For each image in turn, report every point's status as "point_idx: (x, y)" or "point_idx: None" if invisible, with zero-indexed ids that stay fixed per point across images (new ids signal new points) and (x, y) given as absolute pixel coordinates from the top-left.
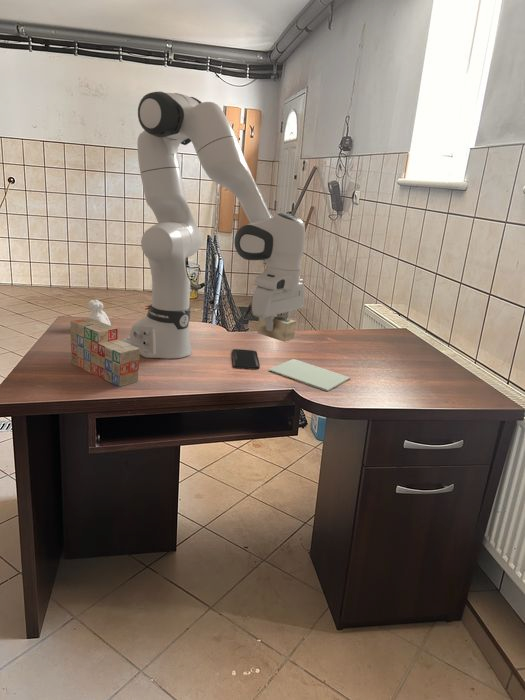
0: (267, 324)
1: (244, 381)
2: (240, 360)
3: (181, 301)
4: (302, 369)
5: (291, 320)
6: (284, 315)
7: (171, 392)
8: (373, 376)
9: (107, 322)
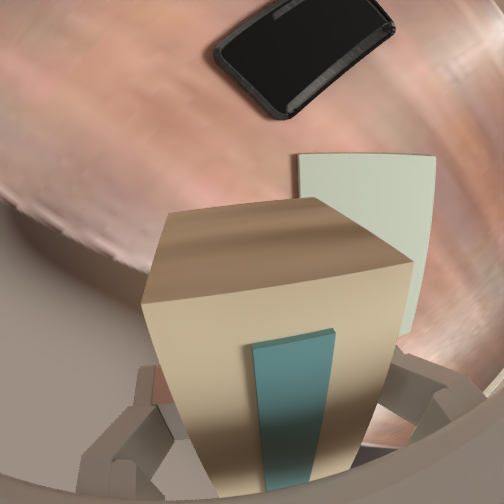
0: (136, 406)
1: (136, 175)
2: (279, 32)
3: None
4: (384, 231)
5: (333, 472)
6: (420, 398)
7: None
8: (443, 338)
9: None
